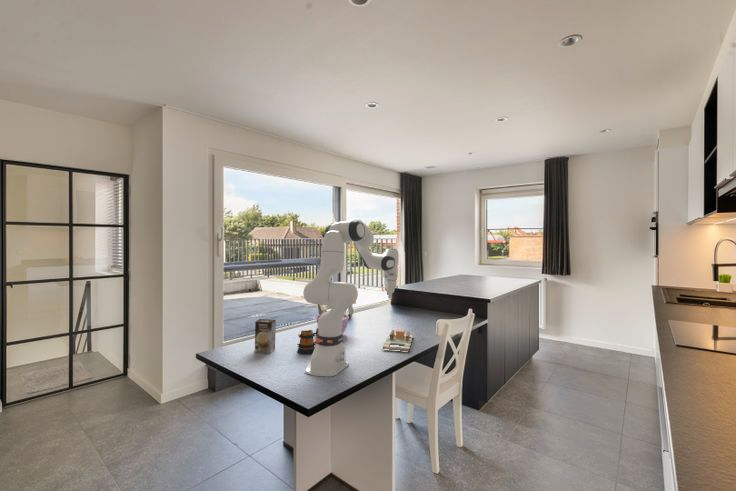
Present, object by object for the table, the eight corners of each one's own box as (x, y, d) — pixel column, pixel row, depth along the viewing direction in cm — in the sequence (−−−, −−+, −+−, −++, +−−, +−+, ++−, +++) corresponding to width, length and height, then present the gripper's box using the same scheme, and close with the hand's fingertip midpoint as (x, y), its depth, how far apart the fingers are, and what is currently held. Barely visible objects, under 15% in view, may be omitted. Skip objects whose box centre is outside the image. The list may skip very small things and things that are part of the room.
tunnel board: (408, 352, 178) (409, 343, 178) (382, 350, 181) (382, 341, 181) (413, 337, 206) (413, 329, 205) (390, 335, 208) (390, 327, 208)
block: (403, 338, 196) (403, 331, 196) (395, 337, 197) (396, 331, 197) (404, 336, 201) (404, 329, 201) (396, 335, 202) (396, 329, 202)
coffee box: (253, 352, 174) (254, 321, 174) (259, 348, 180) (259, 318, 180) (271, 353, 173) (271, 322, 173) (275, 349, 180) (276, 319, 179)
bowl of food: (309, 338, 200) (310, 318, 200) (324, 329, 219) (324, 311, 219) (341, 342, 194) (341, 322, 194) (353, 332, 213) (353, 314, 213)
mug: (302, 356, 170) (302, 333, 170) (293, 350, 178) (293, 328, 178) (324, 351, 178) (325, 329, 178) (315, 346, 186) (315, 325, 186)
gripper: (383, 271, 219) (382, 292, 220) (386, 277, 199) (385, 300, 200) (393, 272, 220) (392, 292, 221) (397, 277, 199) (395, 300, 200)
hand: (388, 296), depth 210 cm, fingers open, 8 cm apart
